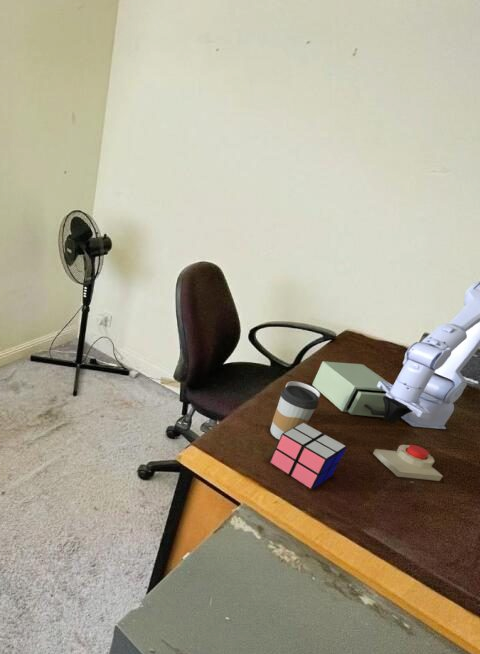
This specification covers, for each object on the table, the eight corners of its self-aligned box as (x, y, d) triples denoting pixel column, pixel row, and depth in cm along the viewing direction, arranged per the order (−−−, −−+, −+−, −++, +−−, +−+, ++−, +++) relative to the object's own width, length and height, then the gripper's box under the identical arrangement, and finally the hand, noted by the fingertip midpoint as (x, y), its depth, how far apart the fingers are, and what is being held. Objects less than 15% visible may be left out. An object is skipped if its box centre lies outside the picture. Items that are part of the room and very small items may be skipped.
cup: (313, 426, 121) (326, 399, 117) (283, 422, 123) (295, 395, 119) (299, 409, 129) (310, 383, 125) (270, 405, 130) (281, 379, 126)
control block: (412, 455, 111) (419, 446, 110) (443, 481, 104) (450, 471, 102) (370, 451, 113) (375, 441, 111) (397, 476, 105) (403, 466, 103)
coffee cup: (294, 429, 120) (313, 387, 114) (305, 449, 113) (326, 405, 106) (261, 423, 122) (278, 381, 116) (270, 441, 115) (289, 398, 109)
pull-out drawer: (402, 427, 121) (415, 406, 118) (361, 423, 122) (372, 402, 119) (357, 391, 137) (367, 372, 134) (321, 388, 138) (330, 369, 135)
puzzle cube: (311, 490, 100) (327, 459, 96) (268, 462, 108) (281, 433, 104) (332, 476, 104) (348, 446, 100) (289, 450, 112) (302, 421, 108)
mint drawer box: (385, 415, 127) (399, 390, 123) (342, 411, 128) (354, 386, 124) (351, 388, 140) (362, 364, 136) (312, 384, 142) (322, 361, 138)
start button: (417, 450, 109) (420, 445, 108) (429, 460, 106) (432, 455, 105) (402, 449, 109) (405, 444, 109) (414, 459, 106) (417, 454, 105)
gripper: (374, 367, 121) (355, 404, 126) (418, 397, 108) (394, 437, 113) (400, 369, 120) (380, 406, 126) (447, 399, 107) (422, 439, 112)
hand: (388, 421), depth 119 cm, fingers closed
